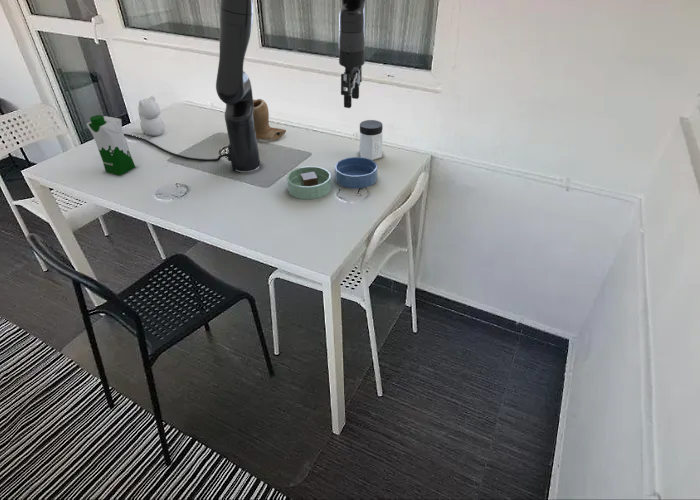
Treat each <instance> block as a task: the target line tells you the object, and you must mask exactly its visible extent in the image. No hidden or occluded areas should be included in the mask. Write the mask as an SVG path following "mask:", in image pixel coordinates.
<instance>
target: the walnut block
mask: <svg viewBox="0 0 700 500" xmlns="http://www.w3.org/2000/svg"><path fill="white" fill-rule="evenodd" d="M300 177H301V186H316V185H318V178H317V176H316V174H315V173H314V172H308V173H302V174H300Z"/></svg>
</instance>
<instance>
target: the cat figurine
mask: <svg viewBox="0 0 700 500" xmlns="http://www.w3.org/2000/svg"><path fill="white" fill-rule="evenodd" d="M137 106H138V107H137V109H138V116H139V120H140V123H139V125H140V130H141V131H142V133H143V134H144V133H145V134H144V135H147V136H151V137H157V136H160V135H162V134H163V133H164V132H165V123H164V121H163V119H162V117H160V115H161V108H160V106H159V104H158V103H157V102H156V98H155V96H154V95H151V96H150V97H149V98H144V99H140V100H139V101H138V105H137ZM148 134H150V135H148Z"/></svg>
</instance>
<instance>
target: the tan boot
mask: <svg viewBox="0 0 700 500" xmlns="http://www.w3.org/2000/svg"><path fill="white" fill-rule="evenodd" d="M253 105H254V110H253V119H254V125H255V132H256V139H257V140H263V141H277V140H279V139H281V138H282V137H283V136H284V135H285V134H286V133H287V130H286V129H284V128H277V127H271V125H270V113H269V107H268V104H267V103H266V101H264V100H263V99H261V98H257V99H253Z"/></svg>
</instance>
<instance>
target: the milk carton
mask: <svg viewBox="0 0 700 500" xmlns="http://www.w3.org/2000/svg"><path fill="white" fill-rule="evenodd" d="M89 120H90V121H89V122H87V123H86V126H87V128H88V130H89V131H90V134H91V135H92V137H93V140H94V142H95V144H96V147H97V149H98V152H99V155H100V157H101V161H102V164H103V167H104V170H105V173H108V174H111V175H116V176H119V177H121V176H123V175H125V174H126V173H128V172H130V171H132V170H134V169H136V164H135V162H134V160H133V157H132V155H131V152H130V149H129V146H128V143H127V139H126V136H124V134H125V133H124V130H123V123H122V118H118V117H112V116H106V115H102V114H96V115H93V116H91V117H89Z"/></svg>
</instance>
